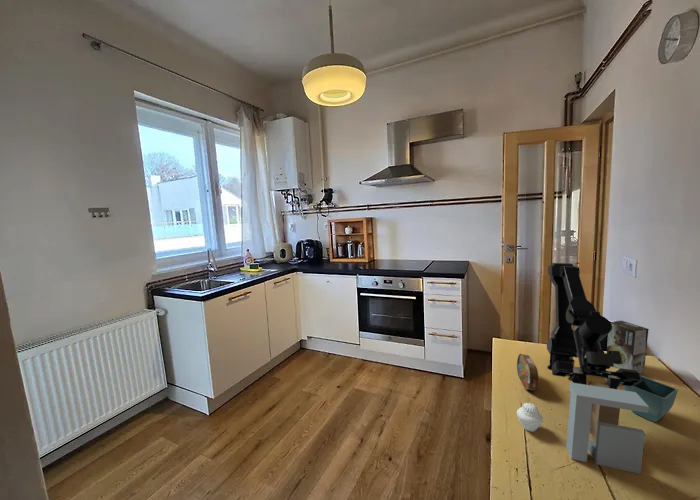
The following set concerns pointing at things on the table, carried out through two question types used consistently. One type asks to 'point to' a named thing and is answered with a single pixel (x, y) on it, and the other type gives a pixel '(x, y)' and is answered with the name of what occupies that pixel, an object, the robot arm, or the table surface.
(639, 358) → the coffee box
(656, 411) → the flower pot
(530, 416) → the muffin
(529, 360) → the tin
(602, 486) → the table surface
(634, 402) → the grey gallows bracket
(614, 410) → the brown wooden block
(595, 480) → the table surface
